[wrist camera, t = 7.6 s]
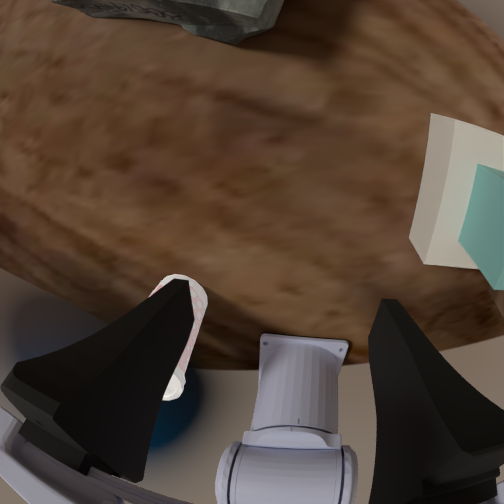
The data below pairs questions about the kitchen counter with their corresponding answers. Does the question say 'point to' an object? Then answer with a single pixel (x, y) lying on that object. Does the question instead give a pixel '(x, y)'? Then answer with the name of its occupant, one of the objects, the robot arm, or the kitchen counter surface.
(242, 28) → the stone block
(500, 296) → the walnut cube
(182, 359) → the beverage cup
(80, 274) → the kitchen counter surface
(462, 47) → the kitchen counter surface
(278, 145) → the kitchen counter surface
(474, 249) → the teal cube
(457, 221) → the ceramic base
